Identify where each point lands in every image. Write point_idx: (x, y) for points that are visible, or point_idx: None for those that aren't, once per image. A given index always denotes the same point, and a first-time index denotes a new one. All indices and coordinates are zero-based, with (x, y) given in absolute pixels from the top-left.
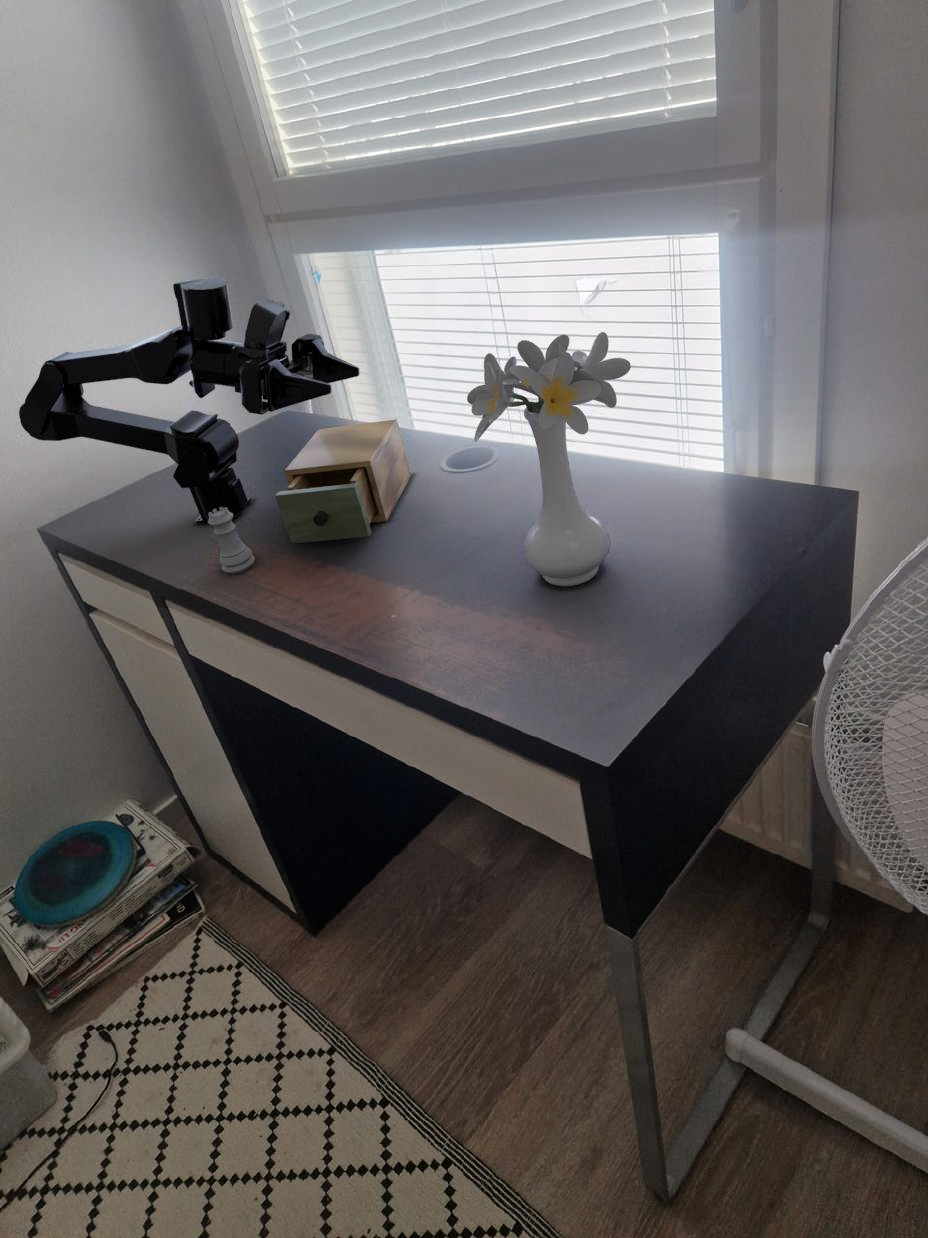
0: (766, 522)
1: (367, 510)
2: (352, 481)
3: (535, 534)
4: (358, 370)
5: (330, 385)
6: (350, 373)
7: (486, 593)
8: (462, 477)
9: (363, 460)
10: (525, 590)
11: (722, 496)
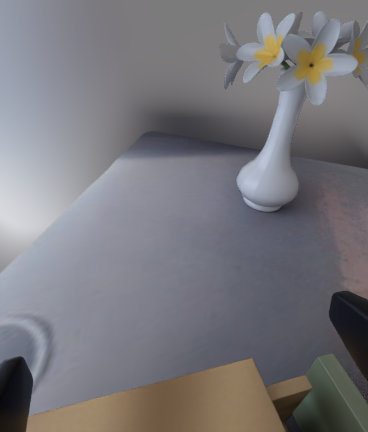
0: (181, 146)
1: None
2: (309, 383)
3: (292, 176)
4: (24, 361)
5: (338, 292)
6: (21, 414)
7: (311, 236)
8: (70, 346)
9: (255, 375)
10: (294, 217)
11: (150, 158)
